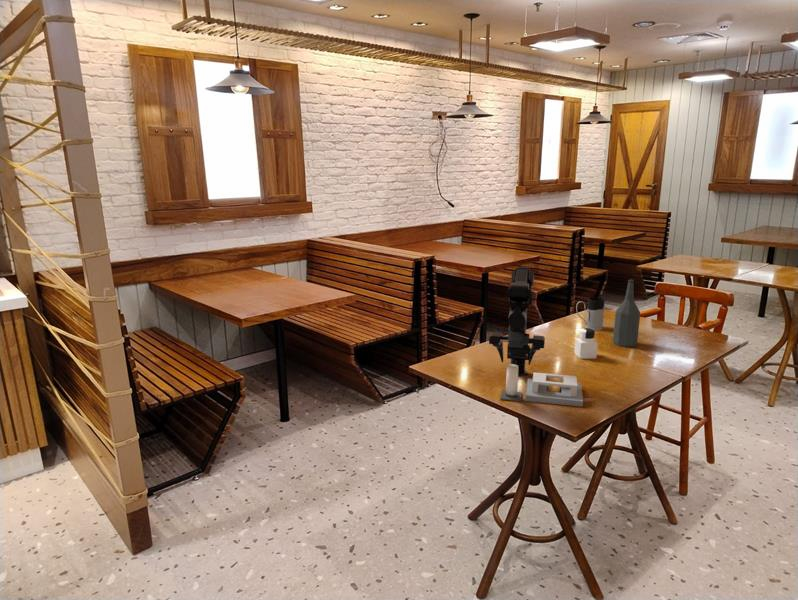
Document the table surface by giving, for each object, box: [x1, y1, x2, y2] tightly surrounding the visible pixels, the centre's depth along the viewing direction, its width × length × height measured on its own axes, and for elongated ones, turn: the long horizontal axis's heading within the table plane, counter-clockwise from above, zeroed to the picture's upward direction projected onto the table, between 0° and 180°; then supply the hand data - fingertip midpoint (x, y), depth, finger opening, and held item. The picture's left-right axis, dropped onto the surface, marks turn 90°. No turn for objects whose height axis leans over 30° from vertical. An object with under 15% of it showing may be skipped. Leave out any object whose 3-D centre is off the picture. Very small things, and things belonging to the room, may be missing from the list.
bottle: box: [612, 279, 641, 348], centre depth 246 cm, size 10×10×30 cm
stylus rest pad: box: [500, 390, 523, 403], centre depth 194 cm, size 7×7×1 cm
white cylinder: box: [505, 363, 519, 398], centre depth 192 cm, size 4×4×11 cm
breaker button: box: [548, 385, 561, 393], centre depth 195 cm, size 4×4×2 cm
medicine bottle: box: [573, 327, 599, 360], centre depth 233 cm, size 7×7×12 cm
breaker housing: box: [525, 372, 584, 408], centre depth 195 cm, size 16×19×6 cm
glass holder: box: [575, 296, 606, 331], centre depth 273 cm, size 9×14×15 cm, turn 91°
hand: (515, 363), depth 192 cm, fingers open, 9 cm apart
